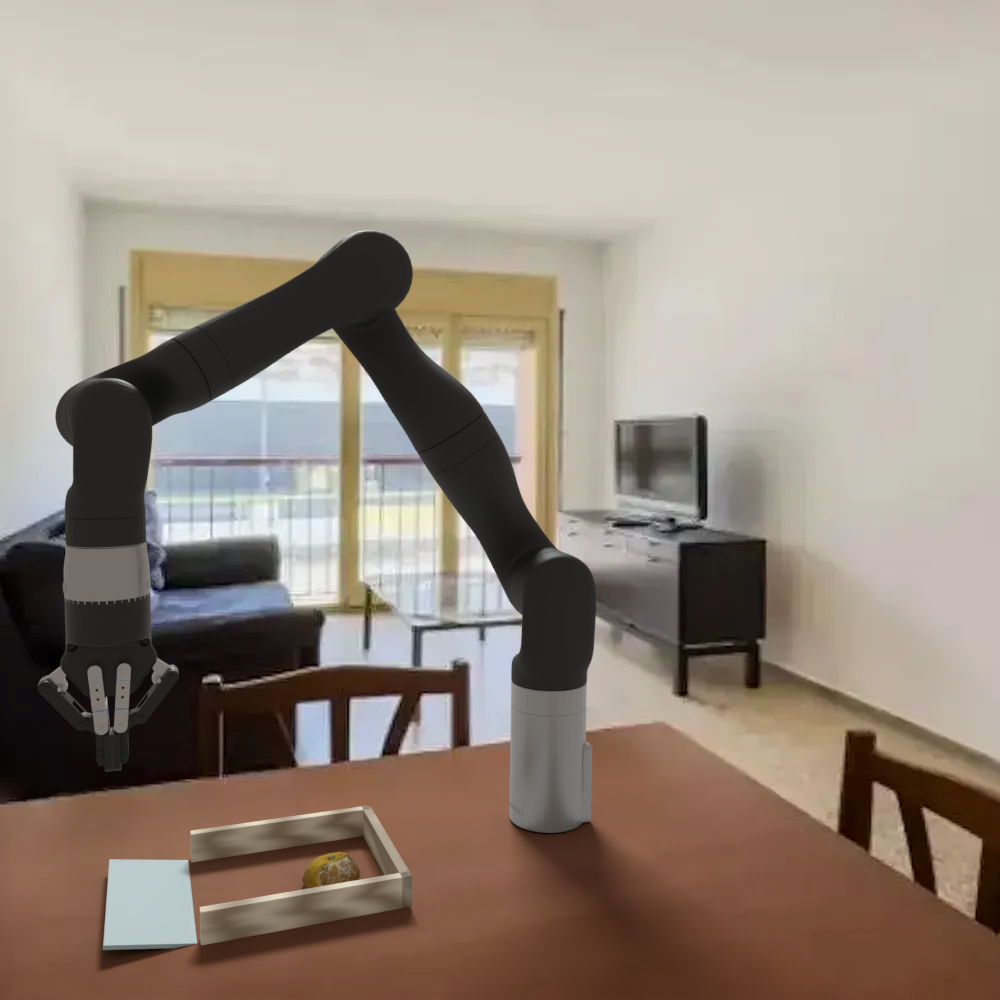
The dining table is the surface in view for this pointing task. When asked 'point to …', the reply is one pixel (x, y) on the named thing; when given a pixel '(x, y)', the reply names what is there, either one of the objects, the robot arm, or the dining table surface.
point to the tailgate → (148, 905)
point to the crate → (304, 903)
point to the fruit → (330, 870)
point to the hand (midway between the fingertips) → (112, 768)
